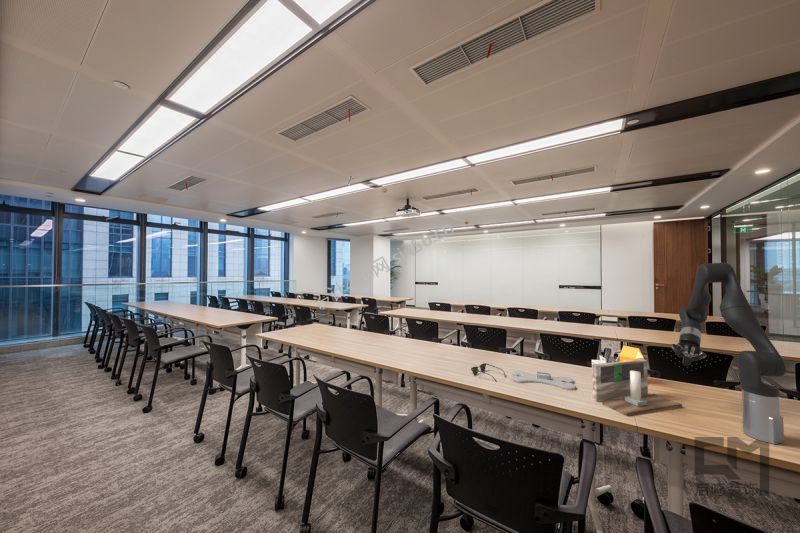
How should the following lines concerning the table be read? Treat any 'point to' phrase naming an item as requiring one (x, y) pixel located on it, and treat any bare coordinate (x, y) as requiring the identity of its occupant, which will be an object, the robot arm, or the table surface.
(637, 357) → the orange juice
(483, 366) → the sunglasses
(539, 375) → the holder
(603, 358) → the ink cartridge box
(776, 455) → the table surface
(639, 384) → the white cylinder on base
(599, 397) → the base
